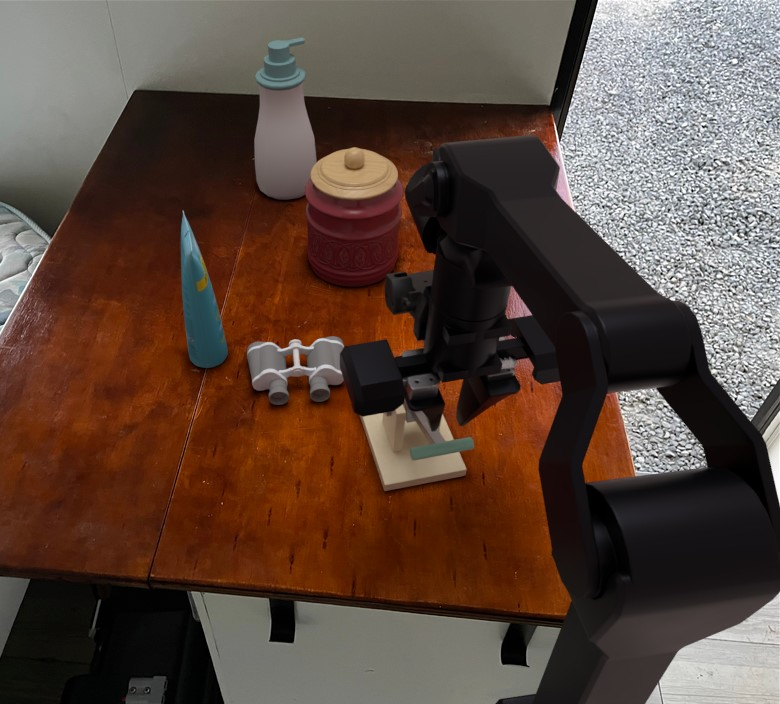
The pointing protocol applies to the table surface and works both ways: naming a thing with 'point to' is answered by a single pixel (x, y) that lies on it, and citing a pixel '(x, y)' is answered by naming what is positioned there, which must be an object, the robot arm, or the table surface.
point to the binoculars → (295, 367)
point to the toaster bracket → (407, 451)
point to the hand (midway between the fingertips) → (445, 424)
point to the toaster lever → (434, 439)
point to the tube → (200, 306)
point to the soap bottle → (283, 125)
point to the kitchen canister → (353, 217)
